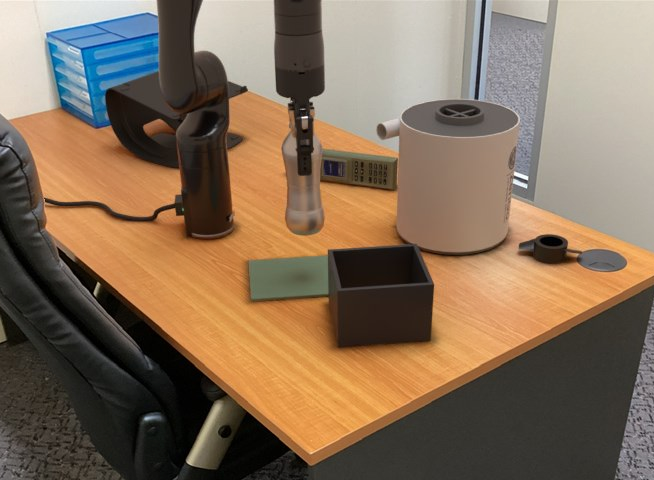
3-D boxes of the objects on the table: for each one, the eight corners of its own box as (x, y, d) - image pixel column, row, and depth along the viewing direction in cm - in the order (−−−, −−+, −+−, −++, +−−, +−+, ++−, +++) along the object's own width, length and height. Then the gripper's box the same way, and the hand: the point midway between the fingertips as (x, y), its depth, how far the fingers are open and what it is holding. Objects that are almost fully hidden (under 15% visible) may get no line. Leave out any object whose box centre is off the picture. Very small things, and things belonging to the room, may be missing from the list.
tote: (338, 347, 130) (337, 290, 124) (328, 303, 141) (327, 249, 135) (430, 340, 131) (434, 284, 125) (414, 297, 142) (416, 243, 136)
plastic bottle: (321, 241, 140) (318, 123, 129) (281, 238, 142) (275, 121, 130) (328, 224, 146) (326, 109, 134) (289, 222, 147) (285, 108, 136)
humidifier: (445, 268, 150) (454, 140, 137) (371, 228, 164) (373, 108, 151) (530, 235, 160) (546, 112, 147) (454, 199, 174) (462, 85, 161)
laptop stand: (183, 121, 219) (176, 60, 211) (254, 138, 207) (249, 74, 199) (109, 152, 202) (99, 87, 194) (182, 172, 190) (174, 103, 182)
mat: (251, 301, 142) (250, 299, 142) (248, 262, 154) (248, 260, 153) (369, 293, 143) (369, 291, 143) (358, 255, 155) (358, 253, 154)
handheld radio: (393, 191, 178) (284, 177, 186) (397, 186, 181) (290, 172, 189) (394, 161, 175) (283, 147, 183) (399, 156, 177) (289, 143, 186)
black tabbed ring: (540, 240, 158) (542, 226, 156) (585, 258, 151) (588, 244, 150) (513, 253, 154) (515, 238, 152) (558, 272, 147) (561, 257, 146)
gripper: (272, 50, 133) (277, 152, 143) (277, 76, 122) (282, 185, 131) (319, 47, 134) (321, 149, 143) (329, 73, 122) (330, 182, 131)
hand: (302, 166), depth 137 cm, fingers closed on plastic bottle, 6 cm apart
